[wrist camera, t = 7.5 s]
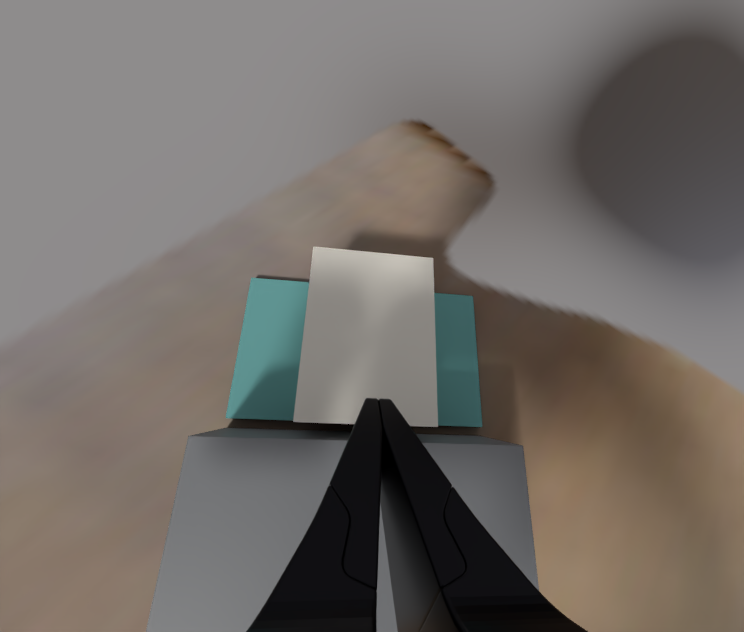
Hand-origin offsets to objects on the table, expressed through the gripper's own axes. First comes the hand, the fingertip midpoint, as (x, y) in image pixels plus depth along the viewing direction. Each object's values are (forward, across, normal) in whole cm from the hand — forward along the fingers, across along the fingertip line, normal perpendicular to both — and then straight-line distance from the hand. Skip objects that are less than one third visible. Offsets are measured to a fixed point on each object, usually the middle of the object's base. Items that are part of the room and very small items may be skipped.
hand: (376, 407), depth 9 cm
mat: (+7, 0, +3) cm, 8 cm away
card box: (+3, 0, +4) cm, 5 cm away
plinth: (+2, 0, +8) cm, 8 cm away
